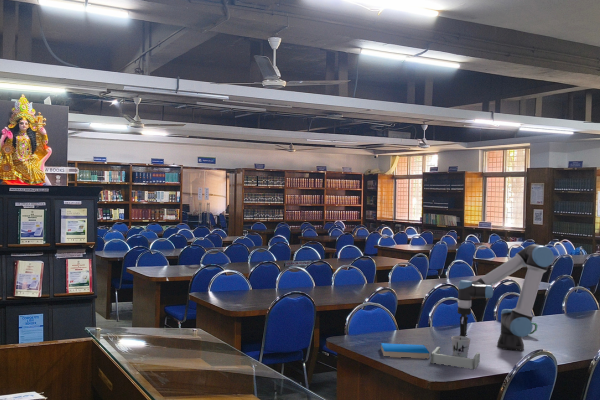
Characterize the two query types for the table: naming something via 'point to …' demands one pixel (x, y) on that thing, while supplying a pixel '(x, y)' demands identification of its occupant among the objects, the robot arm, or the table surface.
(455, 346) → the mug
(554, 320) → the table surface
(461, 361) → the cradle
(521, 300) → the robot arm
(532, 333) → the mug
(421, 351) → the book
